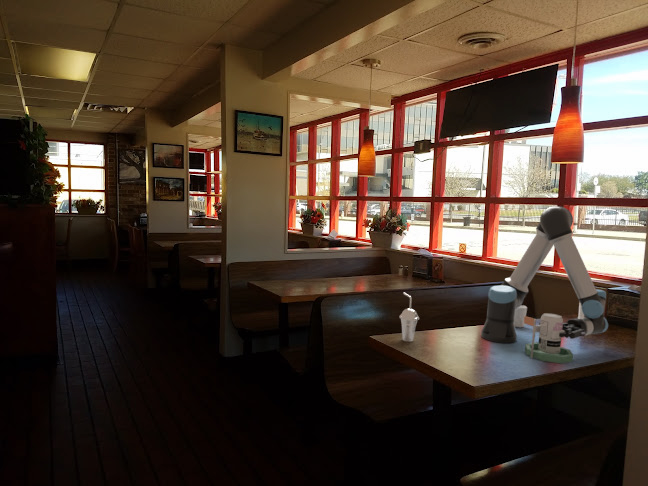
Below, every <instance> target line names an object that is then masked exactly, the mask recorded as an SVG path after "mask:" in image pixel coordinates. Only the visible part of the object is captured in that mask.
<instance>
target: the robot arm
mask: <svg viewBox="0 0 648 486" xmlns="http://www.w3.org/2000/svg"><path fill="white" fill-rule="evenodd" d="M573 223H574V217H573V214H572V212H571V211H570V210H569V209H568V208H566V207H563V206H550V207H548V208H545V210H544V211H542V213H541V214H540V218H539V222H538V224H537V226H536V227H535V230H536V234H535V236H534V238H533V239H532V241H531V243H530V244H529V246H528V247H527V249H526V251H525V252H524V254H523V255H522V257H521V259H520V260H519V262H518V263H517V266H516V267H515V269H514V270H513V272H512V273H511V275H510V276H509V277H506V278H504V280H503V281H502V283H501V284H500V285H493V286H491V287H489V290H488V293H487V294H488V295H487V297H488V300H487V309H486V310H487V311H486V312H487V313H486V320H485V322H484V325H483V327H482V329H481V333H480V336H481V338H483V339H485V340H488V341H491V342H495V343H502V344H512V343H516V342H517V338H518V337H517V331H516V327H514V315H515V309H517V308H518V307H519V306H520V305H522V304H523V302H524V300H525V298H526V297H527V294H528V293H529V288H528V286H529V284H530V283H531V281H532V280H533V278H534V277H535V275H536V274H537V271H538V270H539V269H540V267H541V265H542V264H543V263H544V261H545V259H546V258H547V256H548V255H549V253H550V251H551V250H552V249H553V247H554V248H555V250H556V253H557V255H558V258H559V259H560V262H561V264H562V266H563V268H564V271H565V273H566V275H567V277H568V280H569V281H570V283H571V286H572V288H573V290H574V292H575V295H576V297H577V299H578V302H580V304H581V306H582V312H583V314H584V317H583V318H578V317H576V318H570V319H568V320H567V321H566V322H563V327H562V330H561V331H553V332H552V339H556V338H561V339H562V338H570V339H573V340H575V339H577V338H579V337H580V338H581V337H585V336H590V335H599V334H602V333H605V332H606V331H607V330H608V328H609V323H608V320H607V319H606V317H605V310H606V301H607V292H606V291H605V290H602V289H599V288H598V289H597V288H596V287H595V284H594V283H593V281H592V279H591V276H590V273H589V272H588V269H587V267H586V265H585V263H584V261H583V258H582V256H581V254H580V252H579V250H578V248H577V244H575V241H574V239H573V234H574V233H573V229H572V228H571V227H572V226H573ZM533 327H534V326H532V328H533ZM535 333H540V322H538V324H536V329H535Z"/></svg>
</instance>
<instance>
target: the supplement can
mask: <svg viewBox="0 0 648 486" xmlns="http://www.w3.org/2000/svg"><path fill="white" fill-rule="evenodd" d="M539 323H540V332H538V333H539V334H538V343H539V344H538V349H539V350H540V351H542V352H544V353H548V354H558V353H559V352H560V348H561V347H562V345H561V344H562V338H556V339H552V332H553V331H561V330H562V327H563V323H564V319H563V316H562V315H559V314H557V313H556V314H555V313H543V314H542V315H541V317H540V322H539Z"/></svg>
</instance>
